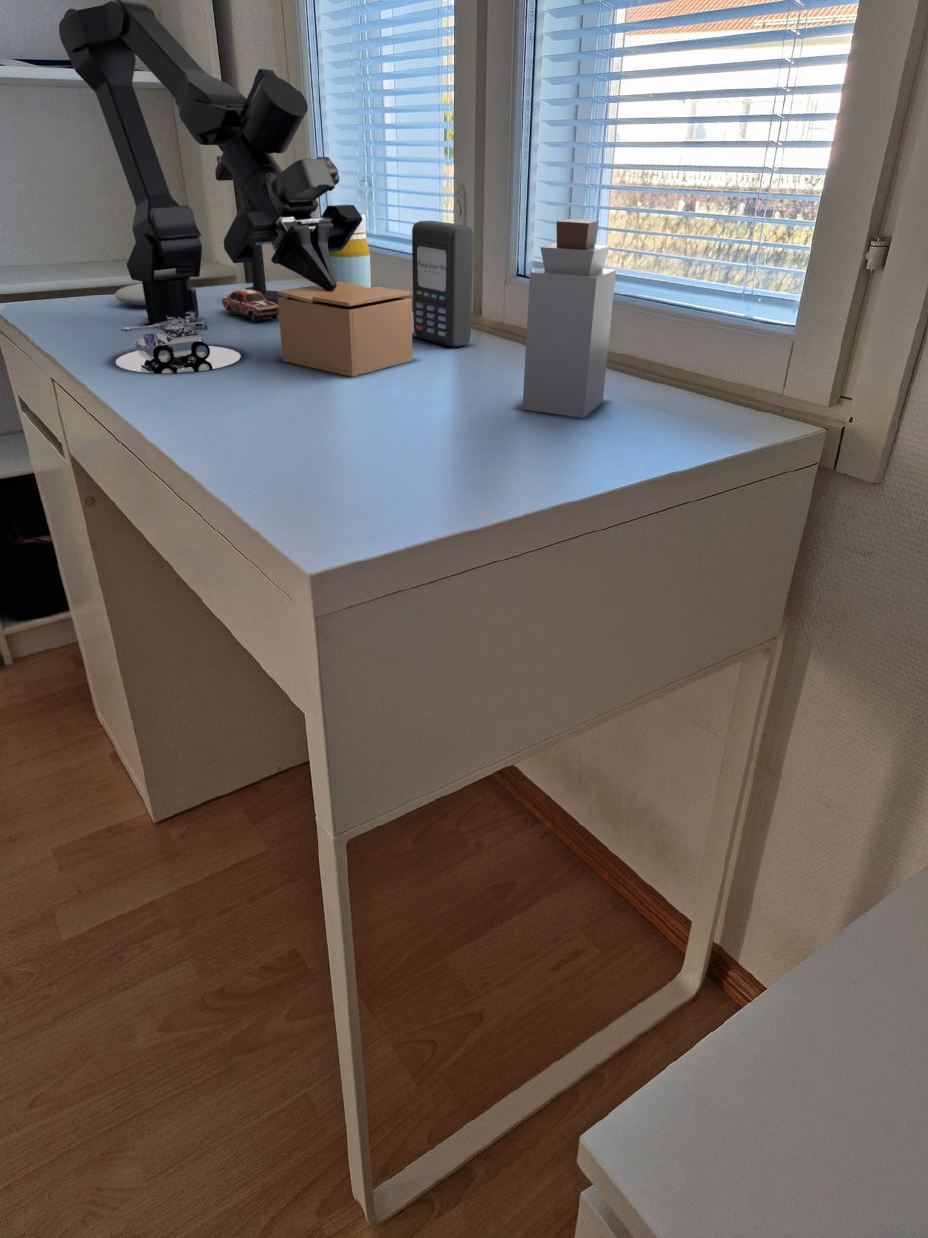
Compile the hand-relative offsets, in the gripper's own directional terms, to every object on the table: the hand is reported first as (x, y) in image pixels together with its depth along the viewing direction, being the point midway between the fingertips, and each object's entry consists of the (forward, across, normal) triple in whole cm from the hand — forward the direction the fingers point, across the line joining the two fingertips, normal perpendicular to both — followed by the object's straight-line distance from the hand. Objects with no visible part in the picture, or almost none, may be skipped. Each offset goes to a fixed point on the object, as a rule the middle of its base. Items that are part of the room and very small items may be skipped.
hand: (333, 288), depth 102 cm
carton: (+7, 0, +5) cm, 9 cm away
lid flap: (0, 0, +1) cm, 1 cm away
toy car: (-4, -13, +16) cm, 21 cm away
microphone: (-26, +23, +37) cm, 51 cm away
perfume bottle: (+30, +1, -17) cm, 34 cm away
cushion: (-29, +8, +41) cm, 51 cm away
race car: (-15, +11, +27) cm, 32 cm away
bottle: (-4, +17, +16) cm, 24 cm away
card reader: (+8, +17, +4) cm, 19 cm away
